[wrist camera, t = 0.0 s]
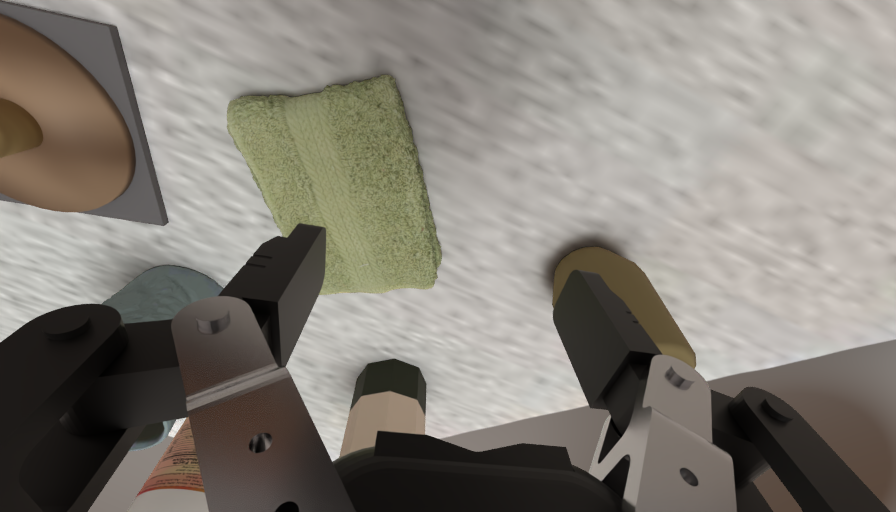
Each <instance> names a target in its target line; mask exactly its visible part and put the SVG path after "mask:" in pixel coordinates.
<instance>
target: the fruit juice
mask: <svg viewBox="0 0 896 512" xmlns="http://www.w3.org/2000/svg"><path fill="white" fill-rule="evenodd" d="M127 512H209V510H208V505H207V501H206V496H205V491H204V487H203V482H202V477H201V473H200V468H199V463H198V459H197V454H196V449H195V445H194V440H193V435H192V431H191V426H190V421H189V417H187V418H186V420H185V421H184V423H183V425H182V426H181V428H180V429H179V431H178V432H177V434H176V436H175V437H174V439H173V441H172V442H171V443H170V445H169V447H168V448H167V450H166V451H165V453H164V454H163V456H162V457H161V459H160V461H159V462H158V464H157V466H156V467H155V468H154V470H153V472H152V473H151V475H150V477H149V478H148V480H147V481H146V483H145V484H144V486H143V488H142V489H141V491H140V492H139V493H138V495H137V496H136V498H135V499H134V501H133V502H132V504H131V506H130V507H129V509H128V511H127Z"/></svg>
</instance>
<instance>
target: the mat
mask: <svg viewBox="0 0 896 512" xmlns="http://www.w3.org/2000/svg"><path fill="white" fill-rule="evenodd" d="M0 14H3V15H6V16H8V17H11V18H13V19H15V20H17V21H19V22H21V23H23V24H25V25H27V26H29V27H31V28H33V29H34V30H36V31H38V32H39V33H41V34H43V35H44V36H46V37H48V38H49V39H50V40H52V41H53V42H55V43H56V44H57V45H59V46H60V47H61V48H63V49H64V50H65V51H67V52H68V53H69V54H70V55H71V56H73V57H74V58H75V59H76V60H77V61H78V62H80V63H81V64H82V65H83V66H84V67H85V68H86V69H87V70H88V71H89V72H90V73H91V74H92V75H93V76H94V77H95V79H96V80H97V81H98V82H99V83H100V84H101V85H102V87H103V88H104V89H105V90H106V92H107V93H108V94H109V96H110V97H111V98H112V100H113V101H114V103H115V104H116V106H117V107H118V109H119V111H120V112H121V114H122V116H123V118H124V120H125V122H126V124H127V126H128V128H129V131H130V134H131V137H132V139H133V143H134V148H135V155H136V167H135V174H134V177H133V180H132V182H131V184H130V186H129V187H128V189H127V190H126V191H125V192H124V193H123V194H122V195H121V196H119V197H118V198H117V199H115V200H113V201H111V202H109V203H108V204H106V205H104V206H101V207H99V208H97V209H93V210H89V211H83V212H78V213H85V214H91V215H98V216H104V217H110V218H117V219H123V220H129V221H136V222H142V223H148V224H155V225H161V226H164V225H166V224H167V223H168V219H167V215H166V211H165V207H164V204H163V200H162V196H161V192H160V189H159V185H158V181H157V177H156V174H155V170H154V166H153V162H152V159H151V155H150V151H149V147H148V144H147V140H146V136H145V132H144V129H143V125H142V121H141V117H140V113H139V110H138V106H137V102H136V98H135V95H134V91H133V87H132V83H131V80H130V76H129V72H128V68H127V65H126V61H125V57H124V53H123V50H122V46H121V42H120V38H119V35H118V31H117V27H115V26H111V25H106V24H102V23H97V22H93V21H89V20H84V19H80V18H75V17H71V16H67V15H62V14H58V13H53V12H49V11H44V10H40V9H36V8H31V7H27V6H22V5H18V4H14V3H9V2H5V1H0ZM0 200H2V201H8V202H15V203H21V204H26V203H23V202H20V201H18V200H15V199H13V198H10V197H8V196H6V195H4V194H2V193H0ZM28 205H29V204H28Z"/></svg>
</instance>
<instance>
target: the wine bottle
mask: <svg viewBox="0 0 896 512" xmlns="http://www.w3.org/2000/svg"><path fill="white" fill-rule="evenodd" d="M425 412H426V382H425V380H424V378H423V376H422V373H421V371H420V369H419V368H418V367H415V366H413V365H410V364H407V363H404V362H402V361H399V360H396V359H391V360H386V361H380V362H375V363H370V364H368V365H367V366H366V367H365V369H364V370H363V372H362V373H361V374H360V376H359V377H358V379H357V382H356V386H355V391H354V395H353V399H352V404H351V408H350V413H349V417H348V421H347V426H346V430H345V435H344V439H343V443H342V448H341V452H340V457H342V456H344V455H347V454H349V453H351V452H354V451H357V450H360V449H363V448H368V447H373V446H375V441H376V436H377V431H389V432H400V433H411V434H423V435H425ZM340 457H339V458H340Z"/></svg>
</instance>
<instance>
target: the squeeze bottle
mask: <svg viewBox="0 0 896 512" xmlns="http://www.w3.org/2000/svg"><path fill="white" fill-rule="evenodd" d="M573 270H582V271H588V272H594V273H598V274H599V275H600V276H601V277H602V279H603V280H604V282H605V283H606V284H607V286H608V287H609V289H610V290H611V291H612V292H614V293H615V294H616V295H617V296H618V297H620V298H621V299H622V300H623V301H624V302H625V304H626V305H627V306H628V308H629V309H630V310H631V312H632V314H634V316H635V317H636V319H637V320H638V321H639V324H641V325H642V327H643V328H644V329H645V331H646V332H647V334H648V335H649V336H650V338H651V339H652V340H653V342H654V343H655V344H656V346H657V347H658V349H659V350H660V351H661V353H662V354H663V355H668V356H671V357H674V358H677V359H679V360H681V361H683V362H685V363H686V364H688V365H689V366H691V367H692V368H693V369H695V367H696V356H695V353H694V351H693V349H692V348H691V346H690V345H689V343H688V341H687V340H686V338H685V337H684V335H683V333H682V332H681V330H680V329H679V327H678V325H677V324H676V322H675V321H674V319H673V318H672V316H671V314H670V313H669V311H668V310H667V308H666V306H665V305H664V303H663V302H662V300H661V298H660V297H659V295H658V294H657V292H656V290H655V289H654V287H653V286H652V284H651V282H650V281H649V279H648V278H647V276H646V274H645V273H644V272H643V271H642V270H641V269H640V268H639V267H638V266H637V265H636V264H635V263H634V262H632V261H630V260H628V259H625V258H623V257H621V256H619V255H617V254H615V253H613V252H611V251H609V250H606V249H603V248H600V247H584V248H581V249H578V250H575V251H573V252H571V253H570V254H568V255H567V256H566V257H564V258H563V259H562V260H561V262H560V263H559V265H558V266H557V268H556V269H555V275H554V286H553V303H552V305H553V308H554V306H555V304H556V302H557V299H558V297H559V295H560V293H561V291H562V289H563V287H564V285H565V283H566V281H567V279H568V277H569V275H570V273H571V272H572V271H573Z"/></svg>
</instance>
